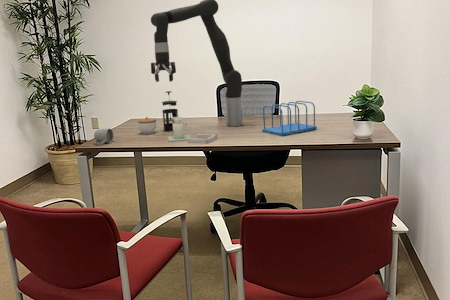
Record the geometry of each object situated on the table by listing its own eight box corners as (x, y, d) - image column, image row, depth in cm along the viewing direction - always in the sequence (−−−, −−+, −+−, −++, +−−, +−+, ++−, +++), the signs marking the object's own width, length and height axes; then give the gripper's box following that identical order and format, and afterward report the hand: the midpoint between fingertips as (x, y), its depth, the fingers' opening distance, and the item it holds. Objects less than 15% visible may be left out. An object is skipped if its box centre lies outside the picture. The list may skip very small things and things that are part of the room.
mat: (190, 135, 249) (190, 134, 249) (191, 140, 237) (190, 139, 237) (168, 137, 248) (168, 136, 248) (168, 141, 236) (168, 140, 236)
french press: (174, 131, 262) (172, 92, 257) (160, 131, 265) (157, 92, 260) (182, 127, 273) (180, 90, 268) (168, 127, 276) (166, 90, 271)
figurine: (170, 138, 241) (169, 118, 239) (176, 136, 247) (174, 116, 244) (184, 139, 238) (182, 118, 235) (189, 136, 243) (188, 116, 241)
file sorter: (296, 125, 263) (296, 99, 260) (317, 130, 249) (317, 102, 246) (262, 132, 251) (261, 104, 247) (282, 136, 236) (281, 107, 233)
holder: (188, 142, 233) (187, 138, 232) (197, 137, 243) (197, 134, 242) (207, 143, 228) (207, 139, 228) (216, 138, 238) (216, 134, 238)
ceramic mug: (101, 140, 247) (99, 127, 245) (114, 141, 245) (113, 127, 243) (90, 145, 237) (89, 131, 235) (104, 145, 235) (103, 131, 233)
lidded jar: (148, 130, 270) (147, 115, 268) (160, 132, 264) (159, 116, 261) (134, 133, 262) (133, 117, 260) (147, 135, 256) (145, 119, 253)
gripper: (176, 50, 243) (178, 80, 247) (154, 51, 249) (156, 81, 253) (169, 51, 237) (172, 82, 240) (146, 52, 242) (149, 82, 246)
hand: (164, 81), depth 247 cm, fingers open, 8 cm apart
